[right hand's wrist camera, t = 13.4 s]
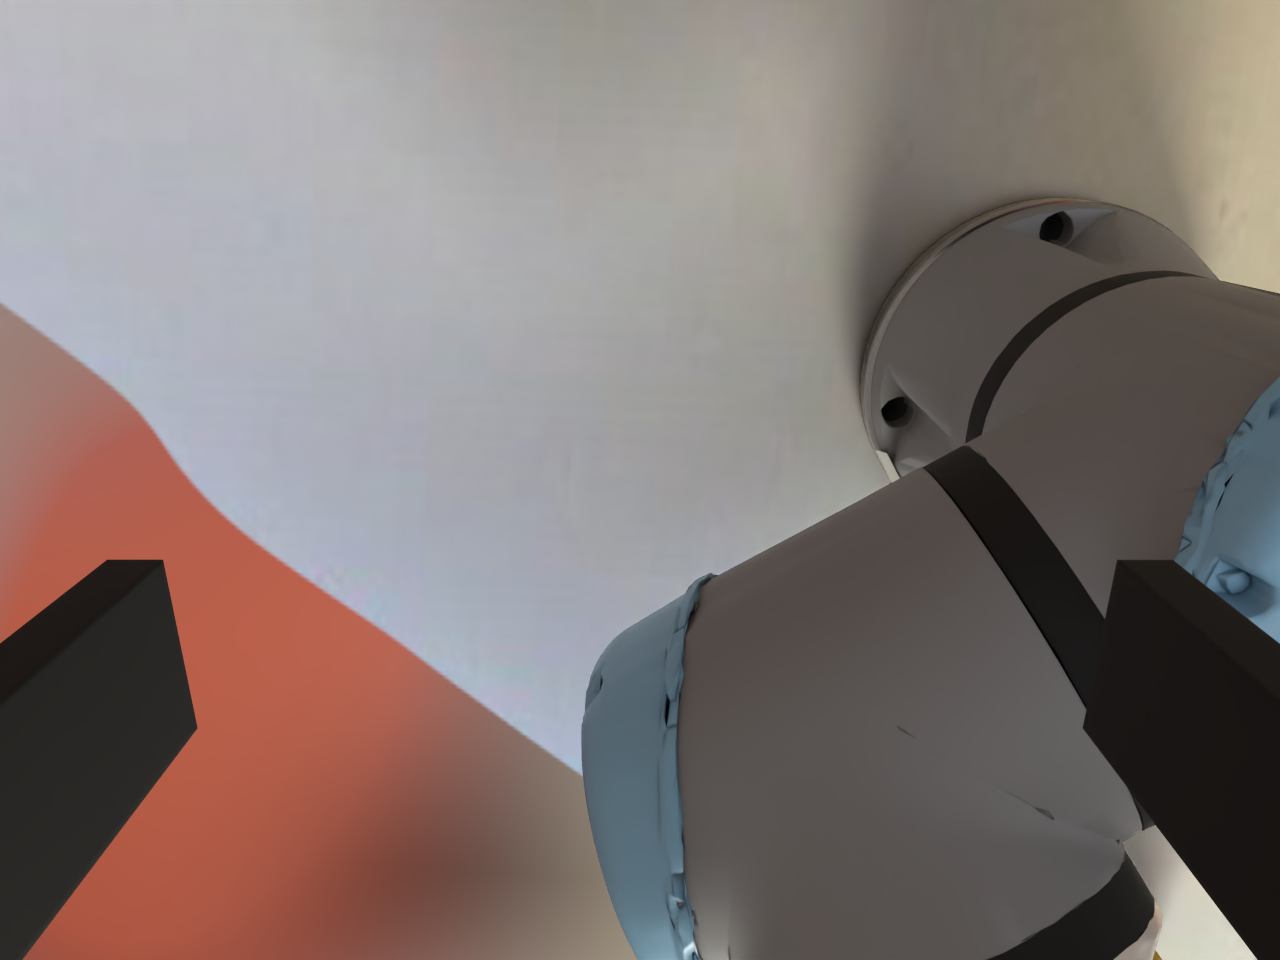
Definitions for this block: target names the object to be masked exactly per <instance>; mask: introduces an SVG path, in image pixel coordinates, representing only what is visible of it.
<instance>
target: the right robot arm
mask: <svg viewBox="0 0 1280 960" xmlns="http://www.w3.org/2000/svg"><path fill="white" fill-rule="evenodd" d="M860 390H861V407H862V415H863V420H864V424H865V429H866V432H867V435H868V438H869V441H870V444H871V446H872V448H873V450H874V453H875V455H876V457H877V459H878V460H879V462H880V464H881V465H882V467H883V468H884V470H885V472H886V473H887V474H888V476H889V478H890V480H891V482H892V483H890V484H889V485H887V486H885V487H883V488H882V489H880V490H878V491H876V492H874V493H873V494H871V495H869V496H867V497H865V498H864V499H862V500H860V501H858V502H856V503H854V504H852V505H850V506H849V507H847V508H845V509H843V510H841V511H839V512H837V513H835V514H833V515H832V516H830V517H828V518H826V519H824V520H822V521H820V522H818V523H816V524H815V525H813V526H811V527H809V528H807V529H805V530H803V531H801V532H799V533H798V534H796V535H794V536H792V537H790V538H788V539H786V540H784V541H783V542H781V543H779V544H777V545H775V546H773V547H771V548H769V549H767V550H766V551H764V552H762V553H760V554H758V555H756V556H754V557H752V558H750V559H749V560H747V561H745V562H743V563H741V564H739V565H737V566H735V567H733V568H732V569H730V570H728V571H726V572H724V573H722V574H720V575H714V574H712V573H709V574H707V575H705V576H703V577H700V578H699V579H697V580H695V581H694V582H693V583H692V584H691V585H690V586H689V588H688V590H687V591H686V593H685V594H684V595H682V596H681V597H679V598H677V599H676V600H674V601H672V602H671V603H669V604H668V605H666V606H664V607H663V608H661V609H659V610H658V611H656V612H654V613H653V614H651V615H649V616H648V617H646V618H644V619H643V620H641V621H639V622H638V623H636V624H634V625H633V626H631V627H629V628H628V629H626V630H625V631H623V632H622V633H621V634H619V635H618V636H617V637H616V638H615V639H614V640H613V641H612V642H611V643H610V644H609V645H608V646H607V648H606V649H605V651H604V652H603V653H602V655H601V656H600V658H599V660H598V661H597V663H596V665H595V667H594V670H593V672H592V675H591V678H590V682H589V686H588V689H587V692H586V703H585V714H584V717H583V723H582V736H581V745H582V769H583V779H584V788H585V795H586V802H587V808H588V814H589V820H590V825H591V829H592V834H593V839H594V843H595V847H596V851H597V854H598V858H599V862H600V866H601V869H602V873H603V876H604V879H605V882H606V886H607V889H608V892H609V895H610V898H611V901H612V904H613V906H614V909H615V912H616V914H617V917H618V919H619V922H620V924H621V927H622V929H623V931H624V933H625V935H626V937H627V940H628V942H629V943H630V945H631V947H632V949H633V951H634V953H635V955H636V957H637V959H638V960H1153V956H1154V952H1155V949H1156V945H1157V942H1158V938H1159V934H1160V931H1161V927H1162V914H1161V911H1160V909H1159V907H1158V905H1157V903H1156V901H1155V899H1154V897H1153V896H1152V894H1151V893H1150V891H1149V890H1148V888H1147V886H1146V885H1145V883H1144V881H1143V880H1142V878H1141V876H1140V875H1139V873H1138V871H1137V870H1136V868H1135V866H1134V865H1133V863H1132V861H1131V860H1130V858H1129V856H1128V855H1127V853H1126V851H1125V850H1124V846H1123V841H1125V840H1127V839H1128V838H1130V837H1132V836H1134V835H1135V834H1137V833H1139V832H1141V830H1142V831H1144V830H1145V829H1147V828H1149V827H1151V826H1154V825H1156V826H1157V827H1158V829H1159V830H1160V831H1161V833H1162V834H1163V835H1164V837H1165V838H1166V839H1167V841H1168V842H1169V843H1170V844H1171V846H1172V847H1173V848H1174V850H1175V851H1176V852H1177V854H1178V855H1179V856H1180V858H1181V859H1182V860H1183V862H1184V863H1185V864H1186V866H1187V867H1188V868H1189V870H1190V871H1191V872H1192V874H1193V875H1194V876H1195V878H1196V879H1197V880H1198V882H1199V883H1200V884H1201V885H1202V887H1203V888H1204V889H1205V891H1206V892H1207V893H1208V895H1209V896H1210V897H1211V899H1212V900H1213V901H1214V903H1215V904H1216V905H1217V907H1218V908H1219V909H1220V911H1221V912H1222V913H1223V915H1224V916H1225V917H1226V919H1227V920H1228V921H1229V923H1230V924H1231V925H1232V926H1233V928H1234V929H1235V930H1236V932H1237V933H1238V934H1239V936H1240V937H1241V938H1242V940H1243V941H1244V942H1245V944H1246V945H1247V946H1248V948H1249V949H1250V950H1251V952H1252V953H1253V954H1254V956H1255V957H1256V958H1257V960H1280V294H1279V293H1274V292H1270V291H1265V290H1261V289H1256V288H1252V287H1247V286H1243V285H1238V284H1233V283H1229V282H1224V281H1220V280H1219V279H1218V278H1217V277H1216V276H1215V274H1214V273H1213V272H1212V271H1211V270H1210V269H1209V268H1208V266H1207V265H1206V264H1205V263H1204V262H1203V261H1202V260H1201V258H1200V257H1199V256H1198V255H1197V254H1196V253H1195V252H1194V251H1193V250H1192V249H1191V248H1190V247H1189V246H1188V245H1187V244H1186V243H1185V242H1184V241H1183V240H1182V239H1180V238H1179V237H1178V236H1177V235H1176V234H1174V233H1173V232H1172V231H1171V230H1169V229H1168V228H1167V227H1165V226H1163V225H1162V224H1160V223H1159V222H1157V221H1155V220H1154V219H1152V218H1150V217H1148V216H1146V215H1143V214H1141V213H1139V212H1137V211H1134V210H1131V209H1128V208H1125V207H1122V206H1118V205H1113V204H1109V203H1104V202H1098V201H1091V200H1084V199H1074V198H1043V199H1034V200H1028V201H1023V202H1018V203H1013V204H1010V205H1007V206H1003V207H1000V208H997V209H994V210H992V211H989V212H987V213H984V214H982V215H980V216H977V217H975V218H974V219H972V220H970V221H968V222H966V223H964V224H962V225H960V226H959V227H957V228H956V229H954V230H953V231H951V232H949V233H948V234H946V235H945V236H944V237H942V238H941V239H940V240H938V241H937V242H936V243H935V244H933V245H932V246H931V247H930V248H929V249H928V250H926V251H925V252H924V253H923V254H922V255H921V256H920V257H919V258H918V259H917V260H916V261H915V262H914V263H913V264H912V265H911V266H910V268H909V269H908V270H907V271H906V272H905V273H904V274H903V276H902V277H901V278H900V280H899V281H898V282H897V284H896V285H895V286H894V288H893V289H892V291H891V293H890V294H889V296H888V297H887V299H886V301H885V302H884V304H883V306H882V308H881V310H880V312H879V314H878V316H877V318H876V320H875V323H874V325H873V328H872V330H871V333H870V335H869V339H868V342H867V346H866V349H865V353H864V359H863V364H862V372H861V383H860ZM196 729H197V724H196V719H195V714H194V709H193V704H192V699H191V695H190V689H189V685H188V680H187V675H186V670H185V665H184V660H183V655H182V651H181V646H180V641H179V636H178V631H177V626H176V621H175V616H174V611H173V607H172V602H171V597H170V592H169V587H168V582H167V577H166V572H165V568H164V563H163V560H106V561H105V562H104V563H103V564H101V565H100V566H99V567H98V568H96V569H95V570H94V571H92V572H91V573H90V574H88V575H87V576H86V577H85V578H83V579H82V580H81V581H80V582H78V583H77V584H76V585H74V586H73V587H72V588H71V589H69V590H68V591H67V592H65V593H64V594H63V595H62V596H60V597H59V598H58V599H57V600H55V601H54V602H53V603H51V604H50V605H49V606H48V607H46V608H45V609H44V610H42V611H41V612H40V613H39V614H37V615H36V616H35V617H34V618H32V619H31V620H30V621H28V622H27V623H26V624H25V625H23V626H22V627H21V628H20V629H18V630H17V631H16V632H14V633H13V634H12V635H11V636H9V637H8V638H7V639H5V640H4V641H3V642H2V643H0V960H23V958H24V957H25V956H26V954H27V953H28V952H29V950H30V949H31V948H32V946H33V945H34V944H35V942H36V941H37V940H38V938H39V937H40V936H41V934H42V933H43V932H44V930H45V929H46V928H47V926H48V925H49V924H50V923H51V921H52V920H53V919H54V917H55V916H56V914H57V913H58V912H59V911H60V909H61V908H62V907H63V905H64V904H65V903H66V901H67V900H68V899H69V897H70V896H71V895H72V893H73V892H74V891H75V889H76V888H77V887H78V885H79V884H80V883H81V882H82V880H83V879H84V878H85V876H86V875H87V873H88V872H89V871H90V870H91V868H92V867H93V866H94V864H95V863H96V862H97V860H98V859H99V858H100V856H101V855H102V854H103V852H104V851H105V850H106V848H107V847H108V846H109V844H110V843H111V842H112V841H113V839H114V838H115V836H116V835H117V834H118V832H119V831H120V830H121V829H122V827H123V826H124V825H125V823H126V822H127V821H128V819H129V818H130V817H131V815H132V814H133V813H134V811H135V810H136V809H137V807H138V806H139V805H140V803H141V802H142V801H143V800H144V798H145V797H146V796H147V794H148V793H149V792H150V790H151V789H152V788H153V786H154V785H155V784H156V782H157V781H158V780H159V778H160V777H161V776H162V774H163V773H164V772H165V770H166V769H167V768H168V766H169V765H170V764H171V762H172V761H173V760H174V759H175V757H176V756H177V755H178V753H179V752H180V751H181V749H182V748H183V746H184V745H185V744H186V743H187V741H188V740H189V739H190V737H191V736H192V735H193V733H194V732H195V731H196Z"/></svg>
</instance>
